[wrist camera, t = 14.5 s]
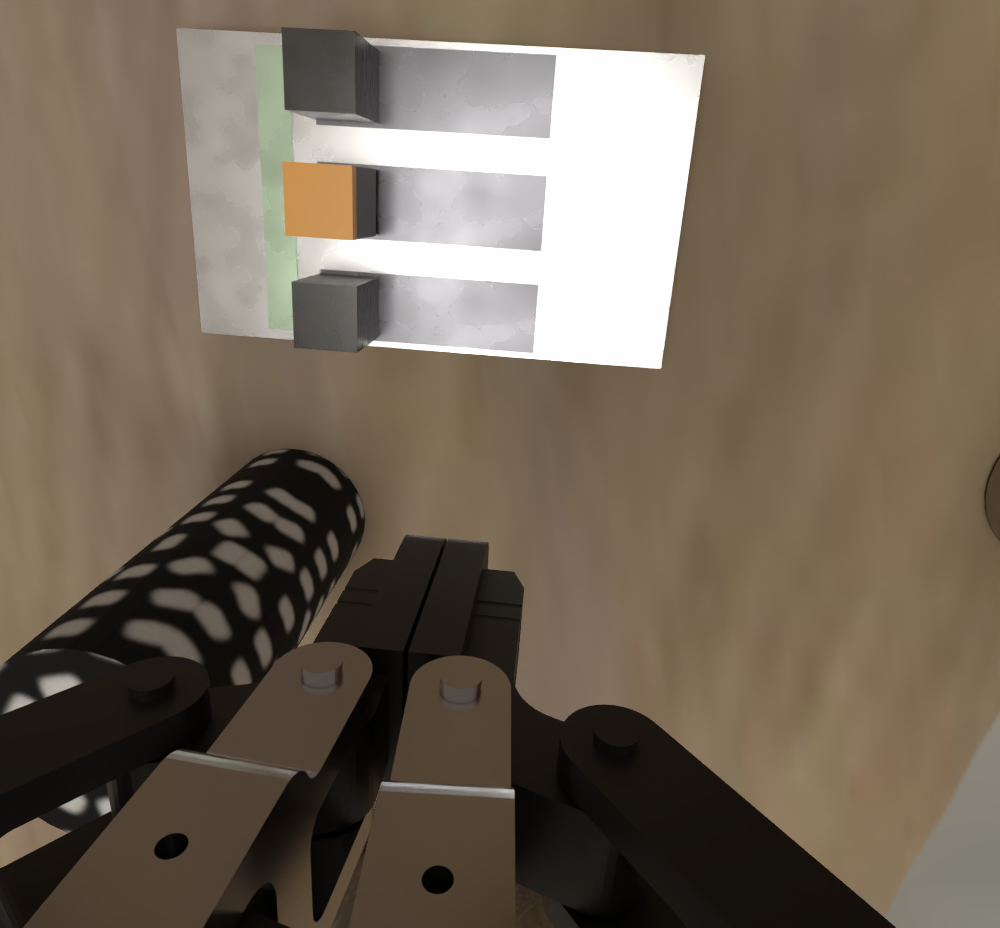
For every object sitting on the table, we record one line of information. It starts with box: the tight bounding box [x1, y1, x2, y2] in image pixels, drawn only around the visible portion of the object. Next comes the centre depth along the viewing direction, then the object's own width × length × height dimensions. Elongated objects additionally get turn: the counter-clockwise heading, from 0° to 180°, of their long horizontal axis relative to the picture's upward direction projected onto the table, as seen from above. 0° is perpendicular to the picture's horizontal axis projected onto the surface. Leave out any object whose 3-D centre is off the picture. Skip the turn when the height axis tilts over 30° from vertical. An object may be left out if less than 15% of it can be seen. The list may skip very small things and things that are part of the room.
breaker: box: [282, 161, 376, 240], centre depth 33 cm, size 3×3×4 cm
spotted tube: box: [0, 449, 365, 833], centre depth 34 cm, size 8×8×20 cm
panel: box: [176, 27, 705, 369], centre depth 34 cm, size 24×14×6 cm, turn 87°
